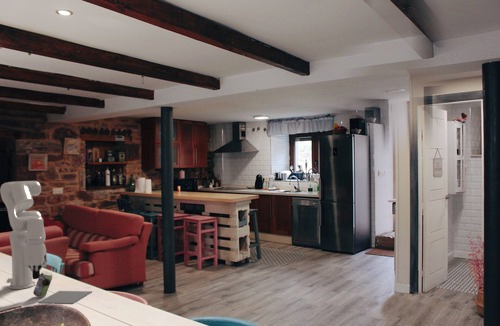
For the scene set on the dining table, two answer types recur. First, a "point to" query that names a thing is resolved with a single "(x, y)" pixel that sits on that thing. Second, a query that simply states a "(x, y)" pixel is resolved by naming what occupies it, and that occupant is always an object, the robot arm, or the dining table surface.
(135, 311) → the dining table surface
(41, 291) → the beverage can
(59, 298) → the rubber mat
